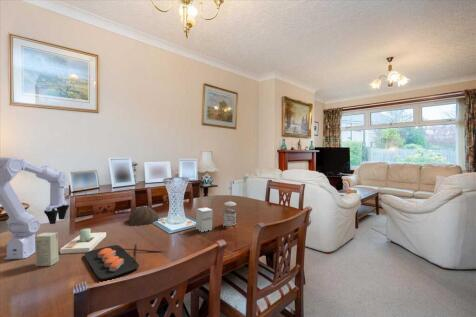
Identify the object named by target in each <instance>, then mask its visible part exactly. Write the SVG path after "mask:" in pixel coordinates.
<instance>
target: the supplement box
mask: <svg viewBox="0 0 476 317" xmlns="http://www.w3.org/2000/svg"><path fill="white" fill-rule="evenodd" d="M195 213H196V216H195V217H196V218H195V230H197V229H198V230H199V231H198V230H197V231H198V232H200V231H201V232H200V233H204V231H205V232H208V230H209V231H213V209H212V208H209V207H200V208H196V212H195Z"/></svg>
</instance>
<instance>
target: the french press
mask: <svg viewBox="0 0 476 317" xmlns="http://www.w3.org/2000/svg"><path fill="white" fill-rule="evenodd" d="M228 189H229V190H230V194H229V196H230V197H229V198H230V199H229V201H227V202H224V203H223V205H224V206H222V207H221V208H220V209H219V212H222V210H223V209H224V212H223V216H222V213H219V215H220V217H221V218H223V223H222V224H223V225H225V226H232V225H235V224H237V223H236V222H237V219H236V218H237V212H236V209H234V208H226V206H227V207H234V206H237V203H236V202H235V201H231V198H232V197H231V194H232V193H231V190H232V189H233V187H232V186H229V187H228Z"/></svg>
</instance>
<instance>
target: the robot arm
mask: <svg viewBox="0 0 476 317" xmlns="http://www.w3.org/2000/svg"><path fill="white" fill-rule="evenodd" d="M20 171H24V172H28V173H32V174H35V176H36V178H38V179H41V180H45V181H47V182H48V183H49V187H50V188H49V194H50V195H49V204H48V205H47V206H46V207H45V210H44V211H43V213H44V214H45V216H46V217H47V219H48V222H49V224H50V225H55V224H56V222H57V217H58V220H64V219H65V218H66V215H67V211H68V209H69V208H70V204H68V200H65V187H66V183H67V181H68V178H69V177H68V175H67V174H66V173H65V172H62V171H58V170H57V169H52V168H51V167H50V166H47V165H44V166H43V165H42V166H38V165H35V164H33V163H31V162H28V161H26V160H25V159H23V158H22V159H21V158H19V157H16V156H15V157H1V156H0V205H1V206H2V209H3V210H4V211H5V213H6V214H7V216H8V218H7V220H6V221H5V222H6V223H7V229H8V232H9V233H11V236H12V238H11V239H10V240H8V242H7V243H6V257H4V258H3V259H4V260H18V259H27V258H28V257H30V256H32V255H33V254H35V236H36V233H37V232H38V230H39V229H40V227H41V222H40V220H39V219H37V218H36V217H35V215H33V214H31V213H29V212H27V210H26V209H25V207H24V205H23V204H22V201H21V200H20V198H19V196H18V195H17V193H16V191H15V189H14V188H13V186H12V184H11V183H10V182H11V181H12V180H13V179H14V178H15V177H16V176H17V175H18V174H19V173H20Z"/></svg>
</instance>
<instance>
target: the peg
mask: <svg viewBox="0 0 476 317" xmlns="http://www.w3.org/2000/svg"><path fill="white" fill-rule="evenodd" d="M91 233H92V231H91V228H83V229H80V230H79V235H80V242H90V241H91Z"/></svg>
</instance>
